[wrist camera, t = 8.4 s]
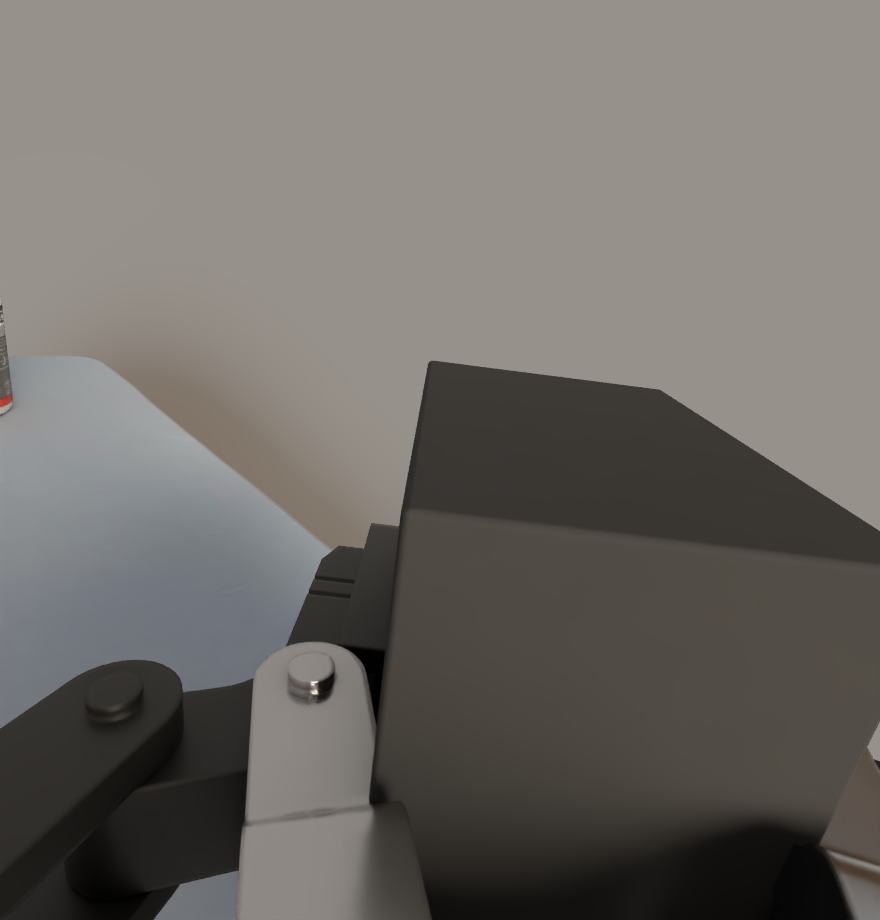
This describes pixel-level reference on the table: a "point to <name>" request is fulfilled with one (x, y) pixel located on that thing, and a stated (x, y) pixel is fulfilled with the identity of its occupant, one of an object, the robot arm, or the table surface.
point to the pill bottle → (4, 370)
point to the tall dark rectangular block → (615, 655)
